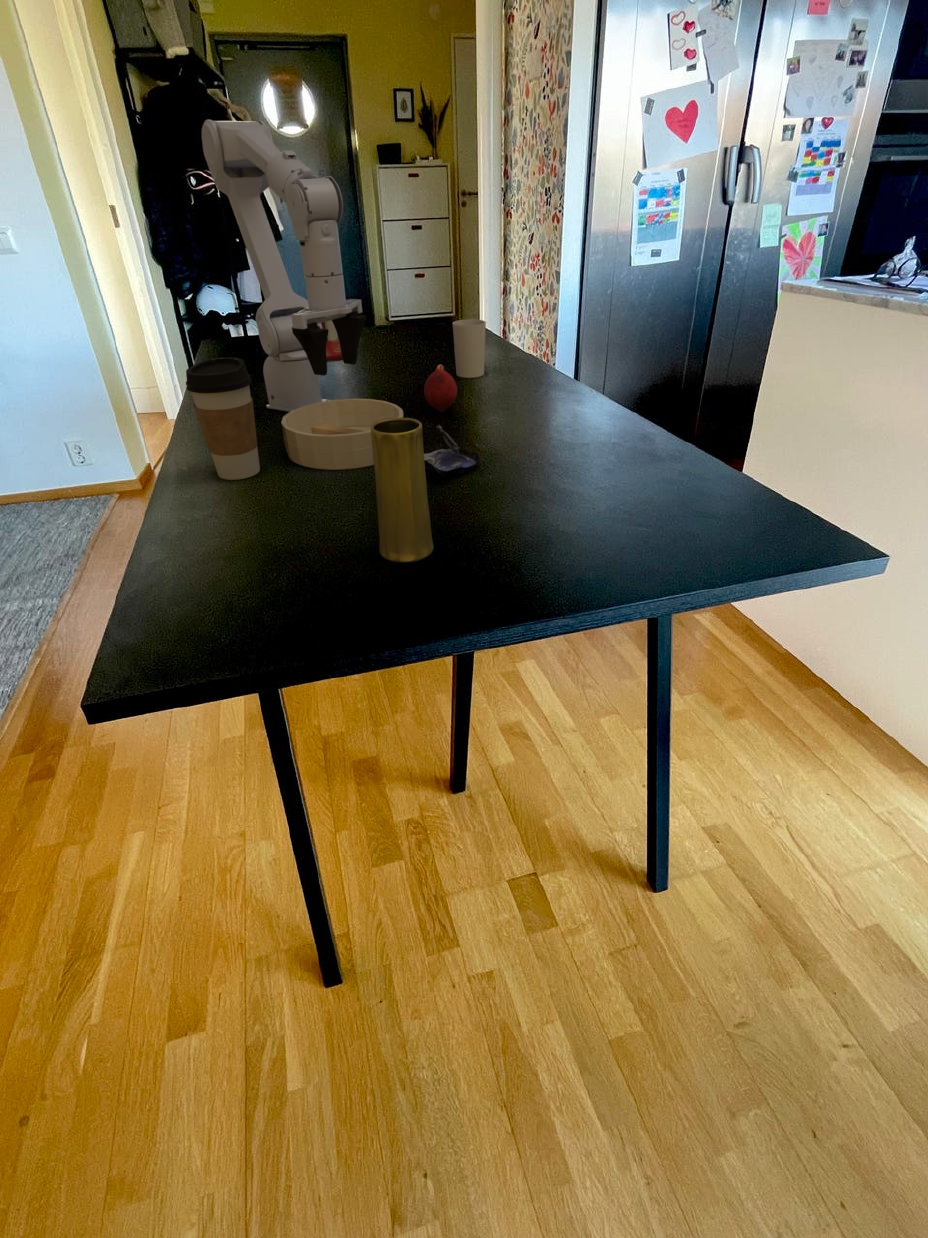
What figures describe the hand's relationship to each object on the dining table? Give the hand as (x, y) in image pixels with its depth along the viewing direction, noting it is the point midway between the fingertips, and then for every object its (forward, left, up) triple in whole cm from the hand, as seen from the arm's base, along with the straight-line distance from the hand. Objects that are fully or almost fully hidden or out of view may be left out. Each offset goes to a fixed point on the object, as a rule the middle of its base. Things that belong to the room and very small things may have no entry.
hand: (335, 368), depth 107 cm
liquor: (-33, +39, -10) cm, 52 cm away
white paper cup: (+3, +39, -10) cm, 40 cm away
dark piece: (+24, -9, -10) cm, 27 cm away
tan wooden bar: (+7, -8, -9) cm, 14 cm away
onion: (+11, +14, -10) cm, 20 cm away
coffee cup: (-1, -23, -10) cm, 25 cm away
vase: (+34, -32, -10) cm, 48 cm away
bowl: (+7, -8, -9) cm, 14 cm away
